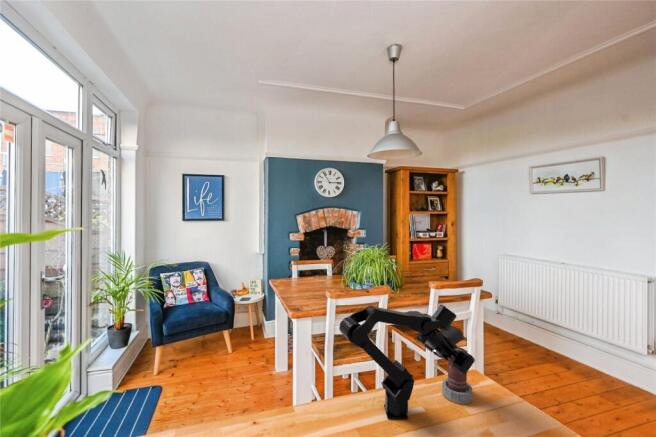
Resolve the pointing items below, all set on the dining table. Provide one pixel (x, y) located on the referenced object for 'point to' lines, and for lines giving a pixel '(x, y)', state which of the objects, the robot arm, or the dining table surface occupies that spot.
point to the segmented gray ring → (457, 394)
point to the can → (456, 376)
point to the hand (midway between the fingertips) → (460, 365)
